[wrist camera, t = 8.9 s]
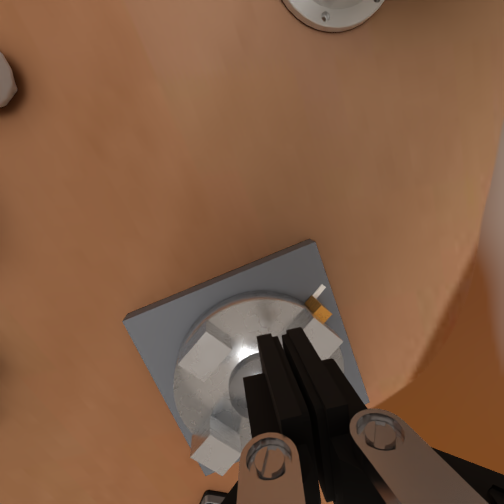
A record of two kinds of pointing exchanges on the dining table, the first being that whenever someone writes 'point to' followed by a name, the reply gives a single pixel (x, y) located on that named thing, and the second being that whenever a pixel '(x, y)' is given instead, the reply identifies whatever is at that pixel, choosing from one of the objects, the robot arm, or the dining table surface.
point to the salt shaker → (6, 82)
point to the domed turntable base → (237, 366)
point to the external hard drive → (213, 497)
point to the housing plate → (220, 288)
